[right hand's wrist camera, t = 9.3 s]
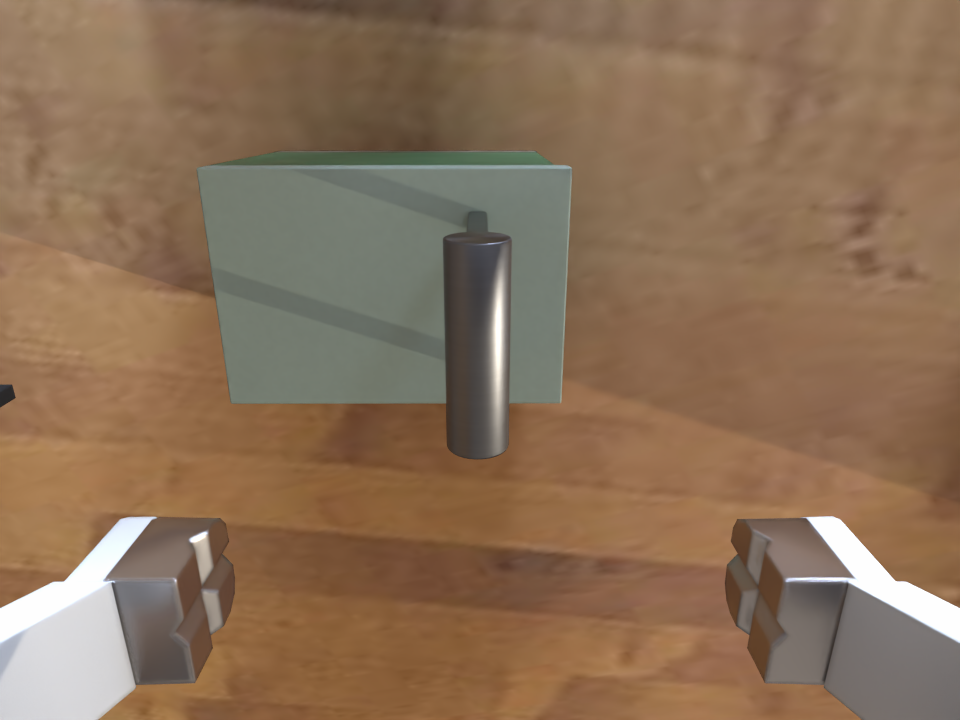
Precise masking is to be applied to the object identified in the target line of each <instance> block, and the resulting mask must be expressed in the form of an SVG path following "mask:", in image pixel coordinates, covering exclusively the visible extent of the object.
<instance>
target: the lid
mask: <svg viewBox="0 0 960 720" xmlns="http://www.w3.org/2000/svg"><path fill="white" fill-rule="evenodd" d="M197 175H198V182H199V189H200V196H201V203H202V209H203V216H204V223H205V230H206V237H207V244H208V250H209V257H210V264H211V271H212V278H213V285H214V291H215V298H216V305H217V312H218V319H219V326H220V332H221V339H222V346H223V353H224V360H225V367H226V374H227V380H228V387H229V394H230V401H231V403H232V404H344V403H446V425H447V447H448V449H449V450H450V451H451V452H452V453H453V454H455V455H457V456H460V457H463V458H468V459H487V458H492V457H495V456H498V455H500V454H502V453H503V452H505V451H506V449H507V448H508V445H509V403H561V396H562V375H563V353H564V332H565V310H566V289H567V268H568V246H569V225H570V204H571V182H572V168H571V167H569V166H567V165H209V166H204V167H199V168H197Z"/></svg>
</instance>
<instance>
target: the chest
mask: <svg viewBox="0 0 960 720" xmlns="http://www.w3.org/2000/svg"><path fill="white" fill-rule="evenodd" d="M213 165H554V164H552V163H551V162H549V161H548V160H547V159H545V158H544V157H542V156H541V155H539V154H538V153H537V152H536V151H277V152H274V153H269V154H264V155H259V156H254V157H249V158H244V159H239V160H234V161H229V162H224V163H218V164H213Z"/></svg>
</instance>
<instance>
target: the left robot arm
mask: <svg viewBox="0 0 960 720" xmlns="http://www.w3.org/2000/svg"><path fill="white" fill-rule="evenodd" d="M13 399H15V394H14V390H13V386H12V385H0V407H2V406H3V405H5V404H6V403H8V402H10V401H11V400H13Z"/></svg>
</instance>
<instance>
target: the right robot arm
mask: <svg viewBox="0 0 960 720" xmlns="http://www.w3.org/2000/svg"><path fill="white" fill-rule="evenodd" d="M228 542H229V538H228V533H227V528H226V523H225V522H224V521H222V520H221V519H220V518H185V517H158V518H157V517H127V518H123V519H120V520H119V521H118V522H117V523H116V524H115V526H114V527H113V528H112V529H111V530H110V531H109V532H108V533H107V534H106V536H105V537H104V538H103V539H102V540H101V541H100V542H99V543H98V544H97V546H96V547H95V548H94V549H93V550H92V551H91V552H90V553H89V555H88V556H87V557H86V558H85V559H84V560H83V561H82V562H81V563H80V565H79V566H78V567H77V568H76V569H75V570H74V571H73V572H72V574H71V575H70V576H69V577H68V578H67V579H66V580H65V581H64V582H52V583H50V584H48V585H46V586H44V587H42V588H40V589H38V590H36V591H34V592H32V593H30V594H28V595H26V596H24V597H22V598H20V599H18V600H16V601H14V602H12V603H10V604H8V605H6V606H4V607H2V608H0V720H98V719H99V718H101V717H102V716H103V715H104V714H105V713H107V712H108V711H109V710H110V709H111V708H113V707H114V706H115V705H116V704H117V703H119V702H120V701H121V700H122V699H123V698H125V697H126V696H127V695H128V694H129V693H131V692H132V691H133V690H134V689H135V688H136V685H146V684H180V683H195V682H196V680H197V678H198V676H199V674H200V672H201V670H202V668H203V666H204V664H205V662H206V660H207V658H208V656H209V654H210V652H211V650H212V649H213V647H212V641H211V635H212V634H213V633H214V632H216V631H217V630H219V629H220V628H222V627H223V626H224V624H225V622H226V620H227V618H228V616H229V614H230V612H231V607H232V603H233V598H234V594H235V576H234V569H233V564H232V563H231V562H230V561H229V560H228V559H227V558H226V557H225V556H224V555H223V554H222V553H223V551H224V549H225V548H226V546H227V544H228ZM731 542H732V544H733V546H734V548H735V549H736V551H737V553H738V554H737V555H736V556H735V557H734V558H733V559H732V560H731V561H730V562H729V563H728V564H727V570H726V578H725V589H726V600H727V604H728V607H729V611H730V614H731V616H732V618H733V620H734V622H735V624H736V626H737V627H738V628H740V629H741V630H743V631H744V632H746V633H747V634H748V635H749V641H748V647H747V649H748V651H749V652H750V654H751V656H752V658H753V660H754V662H755V664H756V666H757V668H758V670H759V672H760V674H761V676H762V678H763V680H764V682H765V683H778V684H814V685H824V688H825V689H826V690H827V691H829V692H830V693H831V694H832V695H833V696H835V697H836V698H837V699H838V700H839V701H841V702H842V703H843V704H844V705H845V706H846V707H848V708H849V709H850V710H851V711H852V712H854V713H855V714H856V715H857V716H858V717H860V718H861V719H862V720H960V608H958V607H956V606H954V605H952V604H950V603H948V602H946V601H944V600H942V599H940V598H938V597H936V596H934V595H932V594H930V593H928V592H926V591H924V590H922V589H920V588H918V587H916V586H914V585H912V584H910V583H908V582H896V581H895V580H894V579H893V578H892V577H891V576H890V575H889V574H888V572H887V571H886V570H885V569H884V568H883V567H882V566H881V565H880V563H879V562H878V561H877V560H876V559H875V558H874V557H873V556H872V555H871V553H870V552H869V551H868V550H867V549H866V548H865V547H864V546H863V545H862V543H861V542H860V541H859V540H858V539H857V538H856V537H855V536H854V534H853V533H852V532H851V531H850V530H849V529H848V528H847V527H846V526H845V524H844V523H843V522H842V521H841V520H839V519H837V518H835V517H833V516H829V517H801V518H774V519H737V521H736V523H735V525H734V527H733V532H732V537H731Z"/></svg>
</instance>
